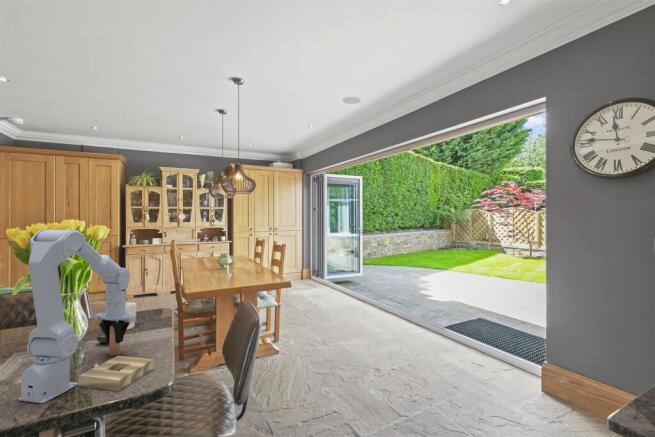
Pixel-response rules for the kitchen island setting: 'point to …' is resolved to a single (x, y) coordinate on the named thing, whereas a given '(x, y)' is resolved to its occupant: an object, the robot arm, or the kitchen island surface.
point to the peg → (113, 343)
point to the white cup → (131, 312)
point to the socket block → (116, 373)
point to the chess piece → (101, 338)
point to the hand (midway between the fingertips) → (114, 341)
